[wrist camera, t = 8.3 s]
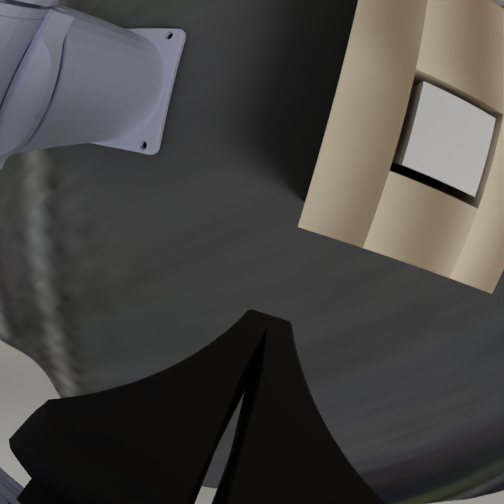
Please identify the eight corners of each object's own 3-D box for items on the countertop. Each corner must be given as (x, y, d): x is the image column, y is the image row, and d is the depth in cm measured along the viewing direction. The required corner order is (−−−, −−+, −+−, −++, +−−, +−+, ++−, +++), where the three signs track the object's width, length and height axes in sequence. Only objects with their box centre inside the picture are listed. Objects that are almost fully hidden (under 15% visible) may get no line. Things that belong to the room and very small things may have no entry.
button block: (304, 202, 17) (297, 226, 13) (374, -84, 9) (381, -127, 4) (457, 256, 16) (491, 293, 11) (509, -23, 8) (541, -48, 3)
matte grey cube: (379, 157, 15) (402, 164, 11) (396, 96, 14) (423, 81, 9) (437, 181, 15) (474, 197, 10) (454, 121, 13) (495, 118, 9)
